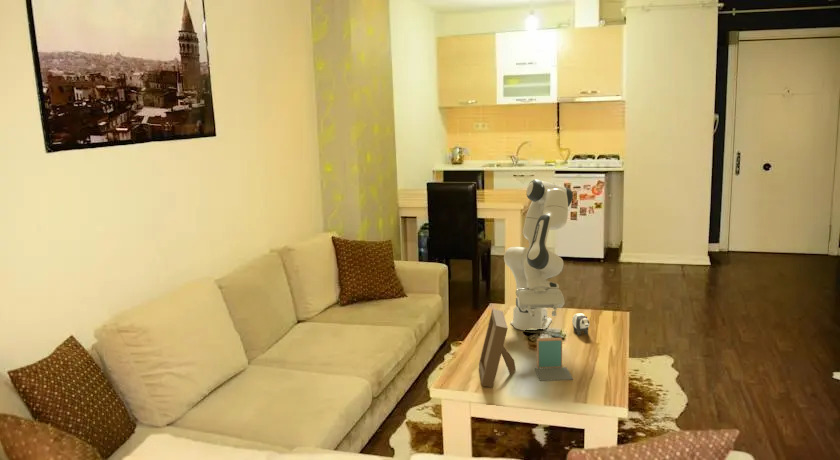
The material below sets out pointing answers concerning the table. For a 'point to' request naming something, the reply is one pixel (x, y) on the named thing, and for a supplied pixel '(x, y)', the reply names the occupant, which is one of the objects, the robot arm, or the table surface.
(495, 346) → the photo frame
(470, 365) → the table surface
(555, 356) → the tile
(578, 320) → the giant panda
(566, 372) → the mat
